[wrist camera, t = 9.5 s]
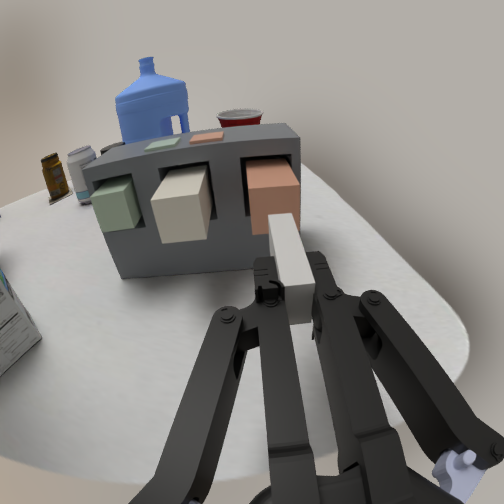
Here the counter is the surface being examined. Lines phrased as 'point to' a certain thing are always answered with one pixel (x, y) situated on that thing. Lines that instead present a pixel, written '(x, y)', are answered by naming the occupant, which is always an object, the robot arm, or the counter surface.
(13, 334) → the light bulb box
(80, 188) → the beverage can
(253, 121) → the plastic cup
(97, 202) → the sage key
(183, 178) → the ivory key
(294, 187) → the terracotta key
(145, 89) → the water jug
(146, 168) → the key console
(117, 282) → the counter surface
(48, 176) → the condiment
